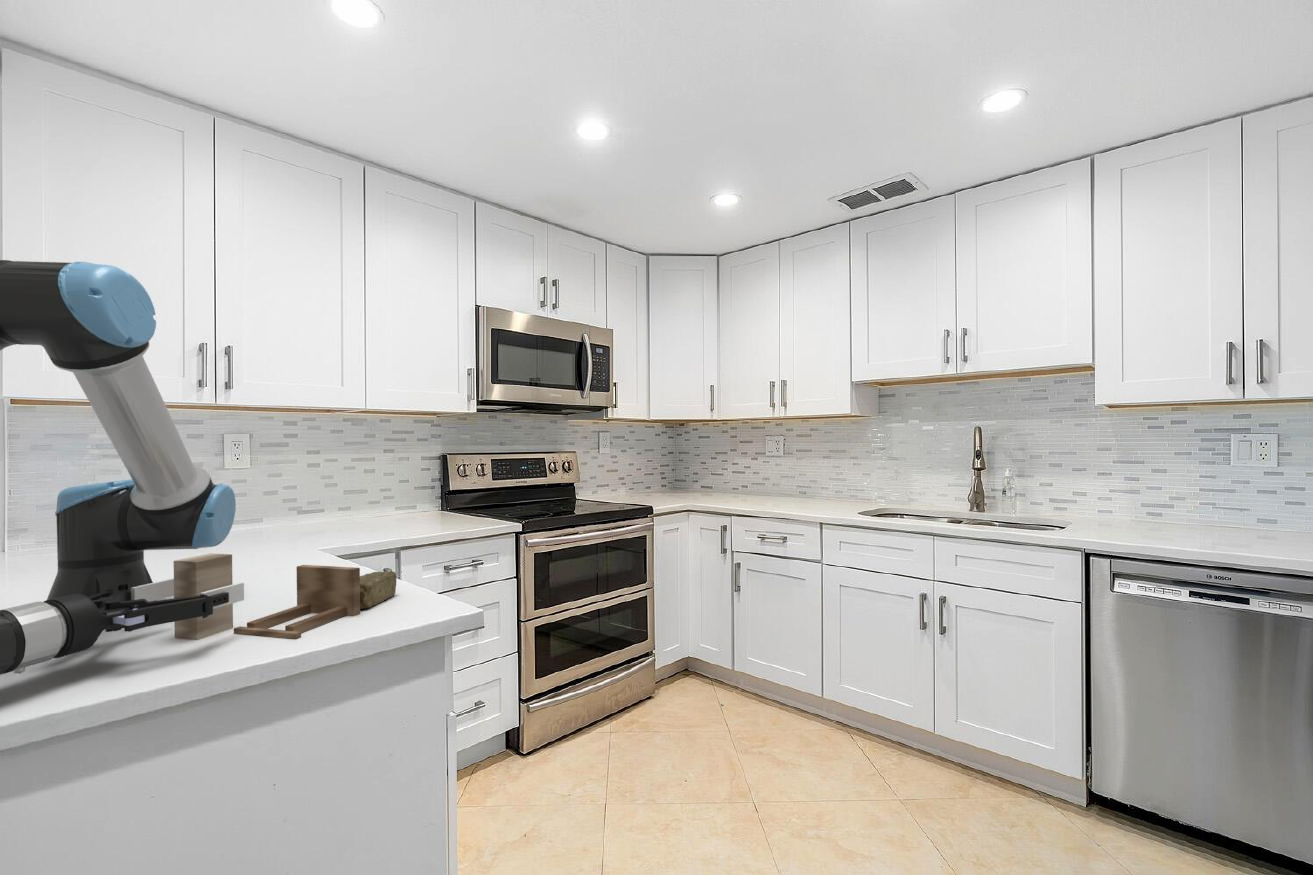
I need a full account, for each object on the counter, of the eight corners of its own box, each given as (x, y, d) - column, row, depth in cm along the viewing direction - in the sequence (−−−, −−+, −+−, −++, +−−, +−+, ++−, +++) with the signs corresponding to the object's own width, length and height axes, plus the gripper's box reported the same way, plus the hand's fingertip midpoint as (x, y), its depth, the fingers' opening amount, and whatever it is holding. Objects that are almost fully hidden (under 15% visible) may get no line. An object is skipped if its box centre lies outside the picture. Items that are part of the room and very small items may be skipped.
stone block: (398, 595, 120) (398, 569, 120) (366, 613, 109) (365, 584, 109) (370, 594, 121) (370, 569, 121) (335, 612, 109) (334, 584, 109)
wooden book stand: (233, 633, 97) (233, 582, 97) (303, 609, 111) (303, 564, 111) (295, 639, 94) (295, 586, 94) (360, 613, 108) (359, 567, 108)
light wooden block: (174, 637, 96) (173, 560, 96) (211, 625, 101) (210, 553, 101) (197, 639, 94) (196, 561, 94) (233, 627, 100) (232, 554, 100)
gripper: (-20, 651, 81) (149, 607, 102) (121, 668, 75) (271, 617, 95) (-21, 594, 81) (149, 561, 102) (120, 606, 75) (270, 569, 95)
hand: (208, 588), depth 98 cm, fingers open, 13 cm apart
